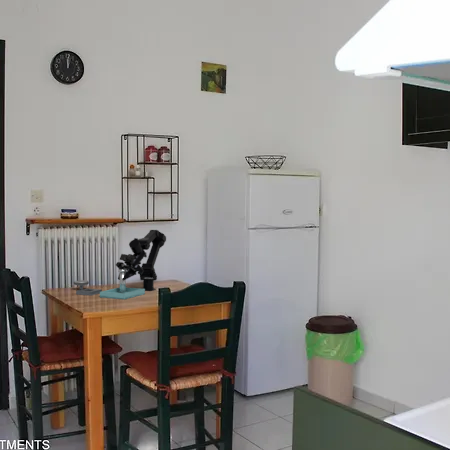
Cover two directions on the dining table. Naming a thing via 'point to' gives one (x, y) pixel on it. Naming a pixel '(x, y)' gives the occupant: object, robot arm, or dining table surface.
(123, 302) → the dining table surface
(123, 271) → the pin
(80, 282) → the silver round knob
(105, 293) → the tray
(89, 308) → the dining table surface
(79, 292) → the pin collar
